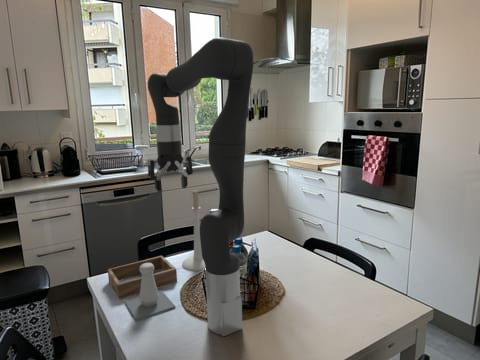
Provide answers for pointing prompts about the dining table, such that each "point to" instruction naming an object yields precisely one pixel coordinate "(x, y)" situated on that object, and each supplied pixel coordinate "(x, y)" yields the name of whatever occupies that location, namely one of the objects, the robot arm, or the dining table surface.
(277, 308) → the dining table surface
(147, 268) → the salt shaker
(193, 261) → the candlestick
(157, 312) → the grey mat
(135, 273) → the frame
